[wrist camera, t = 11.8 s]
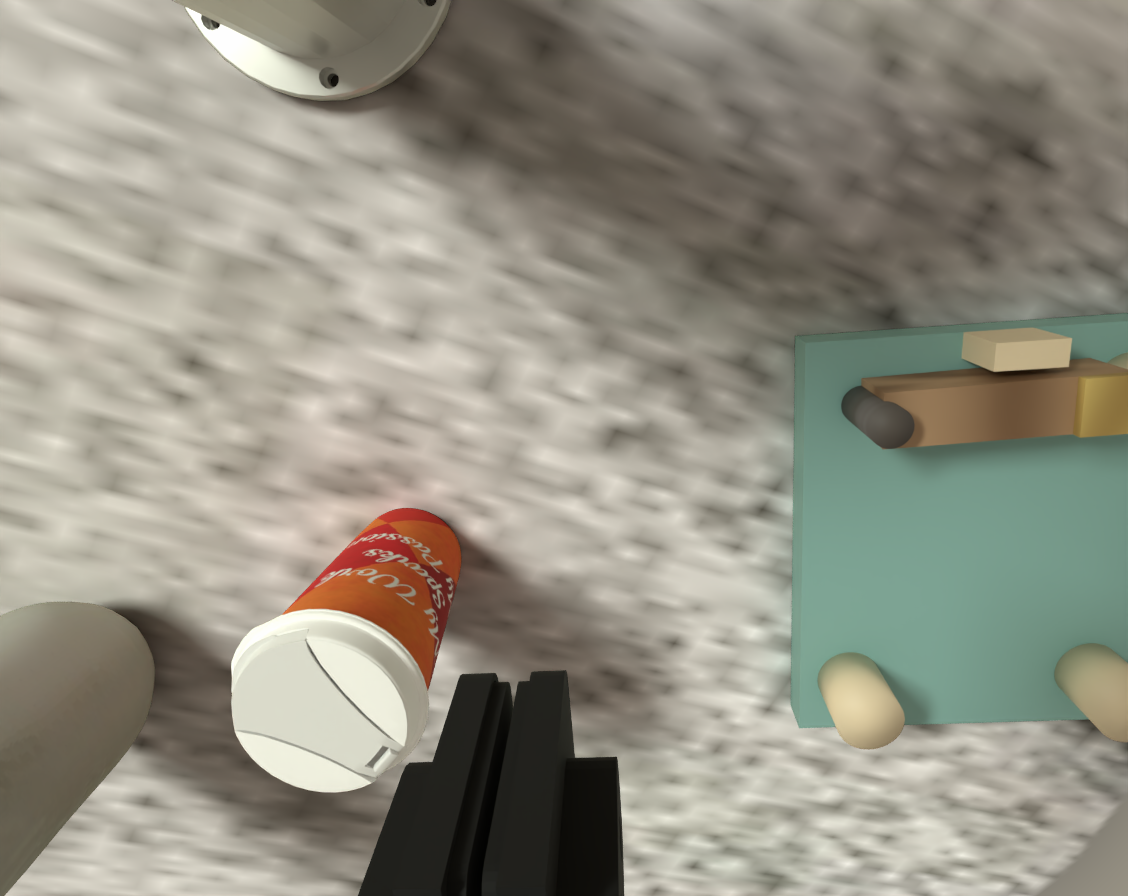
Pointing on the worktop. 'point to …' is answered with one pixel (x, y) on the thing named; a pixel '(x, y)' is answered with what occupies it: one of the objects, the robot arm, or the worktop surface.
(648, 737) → the worktop surface
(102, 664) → the grey ceramic bottle
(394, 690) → the paper cup
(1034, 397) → the folding leg
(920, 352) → the stool seat
